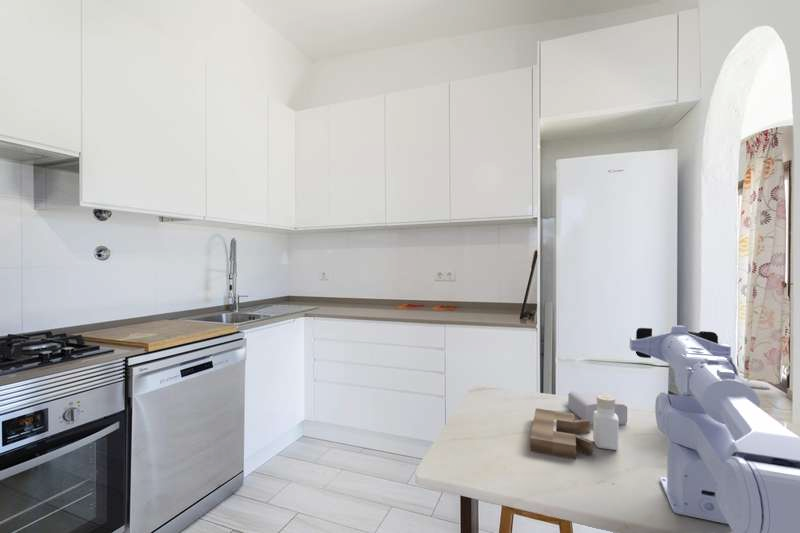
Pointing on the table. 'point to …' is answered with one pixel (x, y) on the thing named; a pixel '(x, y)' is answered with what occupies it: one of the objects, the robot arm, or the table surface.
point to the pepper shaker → (606, 423)
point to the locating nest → (559, 434)
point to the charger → (592, 405)
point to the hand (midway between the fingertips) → (666, 335)
